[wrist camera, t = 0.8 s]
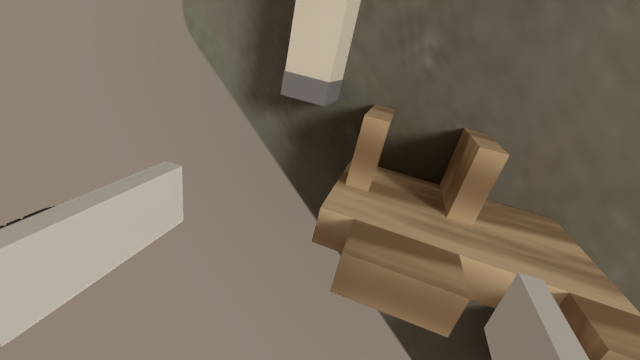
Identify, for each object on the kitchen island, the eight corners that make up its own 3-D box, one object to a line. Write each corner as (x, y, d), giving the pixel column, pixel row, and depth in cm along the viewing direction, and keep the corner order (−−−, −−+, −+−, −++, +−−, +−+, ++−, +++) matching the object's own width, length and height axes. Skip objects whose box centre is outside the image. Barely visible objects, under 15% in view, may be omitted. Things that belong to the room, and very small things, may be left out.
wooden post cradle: (367, 102, 29) (323, 139, 14) (592, 162, 25) (829, 289, 11) (345, 183, 32) (292, 276, 18) (538, 245, 29) (661, 421, 15)
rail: (336, -112, 24) (318, -155, 19) (386, -106, 23) (379, -148, 18) (300, 90, 30) (280, 94, 26) (337, 100, 29) (324, 106, 25)
